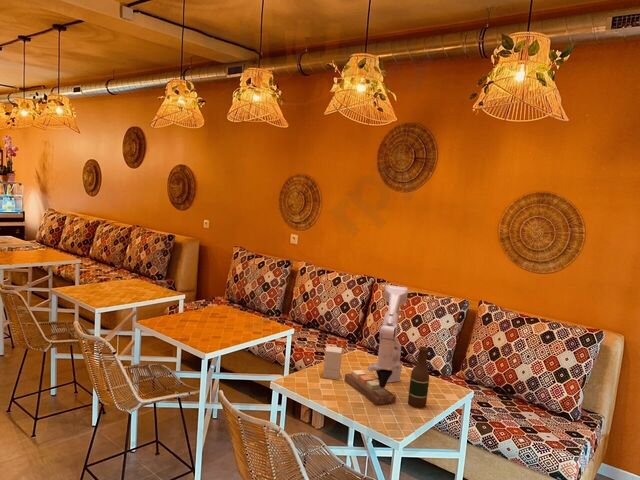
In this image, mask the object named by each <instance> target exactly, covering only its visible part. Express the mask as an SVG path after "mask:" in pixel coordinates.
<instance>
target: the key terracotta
mask: <svg viewBox="0 0 640 480" xmlns="http://www.w3.org/2000/svg"><path fill="white" fill-rule="evenodd" d="M373 380H374V378H373V377H371V376H370V375H369V374H366V375H364V376H359V382H361V383H362V384H363V385H366V383H367V381H373Z"/></svg>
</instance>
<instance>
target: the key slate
mask: <svg viewBox="0 0 640 480" xmlns="http://www.w3.org/2000/svg"><path fill="white" fill-rule="evenodd" d="M374 393H375V394H377V395H378V396H379V397H384V396H389V393H388V392H386V391H385V390H383V389H380V390H374Z"/></svg>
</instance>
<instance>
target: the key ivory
mask: <svg viewBox="0 0 640 480" xmlns="http://www.w3.org/2000/svg"><path fill="white" fill-rule="evenodd" d="M351 373H352V376H353V377H354V378H356V379H359V376H364V375H367V373H365V372H364V371H363V370H361V369H359V370H358V369H357V370H352V371H351Z"/></svg>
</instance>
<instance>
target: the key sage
mask: <svg viewBox="0 0 640 480" xmlns="http://www.w3.org/2000/svg"><path fill="white" fill-rule="evenodd" d="M366 387H367V388H369V389H370V390H371V391H372V390H380V389H381V387H380V386H379V381H377V380H374V381H367V383H366Z"/></svg>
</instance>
